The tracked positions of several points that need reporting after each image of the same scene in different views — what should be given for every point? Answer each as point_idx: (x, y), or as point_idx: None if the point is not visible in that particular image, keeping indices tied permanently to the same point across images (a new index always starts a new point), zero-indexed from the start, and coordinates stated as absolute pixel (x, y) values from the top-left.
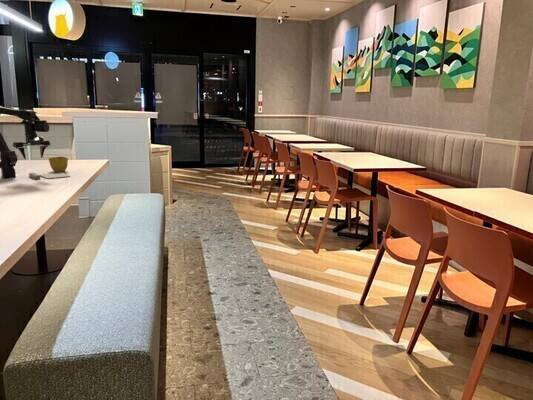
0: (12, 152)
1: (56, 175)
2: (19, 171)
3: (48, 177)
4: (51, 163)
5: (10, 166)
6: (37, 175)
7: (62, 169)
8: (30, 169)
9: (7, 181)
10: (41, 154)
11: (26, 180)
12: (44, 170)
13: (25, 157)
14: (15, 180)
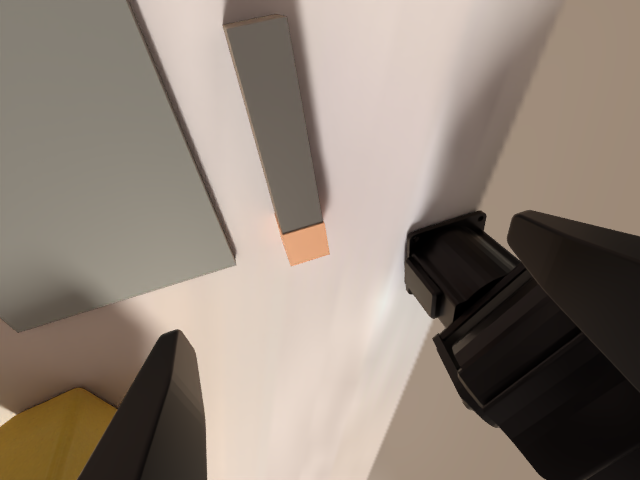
0: (584, 444)
1: (17, 172)
2: (337, 405)
3: (108, 38)
4: None
5: (486, 298)
6: (261, 35)
7: (24, 418)
8: (278, 447)
9: (522, 52)
10: (170, 408)
11: (377, 18)
12: None
13: (546, 226)
14: (455, 79)
